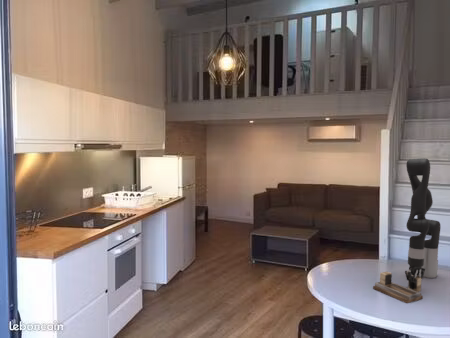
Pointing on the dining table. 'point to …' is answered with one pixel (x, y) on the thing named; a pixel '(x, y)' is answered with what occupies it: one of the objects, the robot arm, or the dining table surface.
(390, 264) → the dining table surface
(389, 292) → the rail base
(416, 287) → the maple finger
